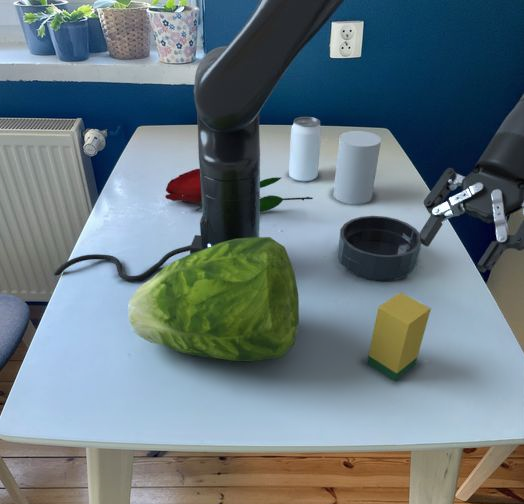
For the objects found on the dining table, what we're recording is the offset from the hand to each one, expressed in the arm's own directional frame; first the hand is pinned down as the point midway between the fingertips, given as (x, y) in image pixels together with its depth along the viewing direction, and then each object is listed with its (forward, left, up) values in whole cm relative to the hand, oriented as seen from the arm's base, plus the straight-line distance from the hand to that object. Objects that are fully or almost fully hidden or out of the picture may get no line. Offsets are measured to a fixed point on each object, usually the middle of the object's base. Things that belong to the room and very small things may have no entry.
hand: (450, 256), depth 71 cm
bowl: (-7, +20, -14) cm, 25 cm away
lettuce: (-31, -6, -14) cm, 34 cm away
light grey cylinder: (-11, +45, -14) cm, 48 cm away
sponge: (-6, -7, -14) cm, 17 cm away
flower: (-34, +35, -14) cm, 51 cm away
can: (-22, +53, -14) cm, 59 cm away
